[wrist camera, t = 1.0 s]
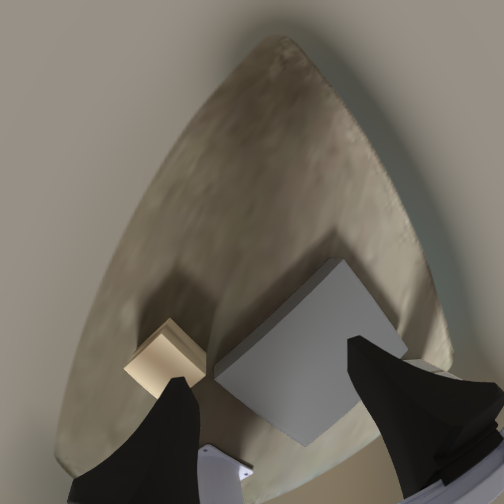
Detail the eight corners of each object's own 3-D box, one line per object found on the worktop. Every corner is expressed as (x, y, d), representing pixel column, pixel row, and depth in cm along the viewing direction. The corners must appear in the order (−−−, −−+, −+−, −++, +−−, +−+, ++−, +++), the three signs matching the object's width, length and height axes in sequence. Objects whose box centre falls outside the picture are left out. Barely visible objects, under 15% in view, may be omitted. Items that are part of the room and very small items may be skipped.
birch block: (172, 381, 25) (166, 406, 20) (137, 348, 25) (123, 368, 20) (206, 352, 26) (206, 375, 21) (170, 317, 25) (161, 333, 20)
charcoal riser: (297, 432, 28) (304, 447, 25) (213, 365, 26) (214, 379, 23) (393, 341, 29) (408, 349, 26) (329, 257, 27) (343, 259, 24)
